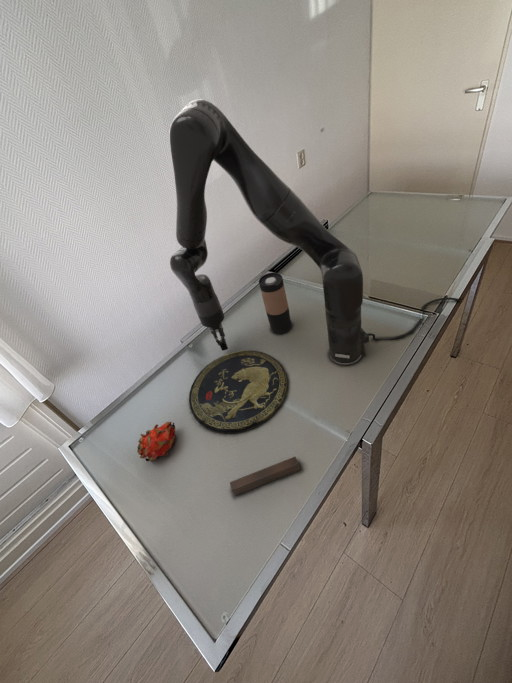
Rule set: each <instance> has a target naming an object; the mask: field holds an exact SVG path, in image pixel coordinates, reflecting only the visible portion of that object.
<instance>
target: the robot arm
mask: <svg viewBox="0 0 512 683" xmlns="http://www.w3.org/2000/svg"><path fill="white" fill-rule="evenodd" d="M168 138H169V140H168V141H169V149H170V157H171V162H172V168H173V174H174V175H173V177H174V184H175V186H174V187H175V195H176V218H175V220H176V221H175V238H176V241H177V243H178V245H180V246H181V248H179V249H178V250H177V251H176V252H175V253H173V254H172V255H171V256H170V258H169V266H170V270H171V271H172V273H173V274H174V275H175V277H176V278H177V279H178V280H179V281H180V282H181V284H182V285H183V286H184V288H185V289H186V290H187V292H188V294H189V296H190V299H191V301H192V306H193V307H194V310H195V313H196V314H197V316H198V319H199V321H200V324H201V325H202V326H203V327H205V328H209V331H210V334H211V335H213V338H214V340H215V342H216V343H217V345H218V346H219V347H220V350H221V351H223V352H224V351H227V350H228V349H229V347H228V344H227V340H226V338H225V337H226V335H225V332H224V326H223V324H222V323H223V321H224V320H225V313H224V311H223V308H222V305H221V303H220V300H219V298H218V295H217V294H216V292H215V289H214V287H213V284H212V281H211V279H210V277H209V276H208V275H206V274H203V273H201V274H200V273H199V274H196V272H197V271H199V270H200V269H201V268H202V267H203V266H204V265H205V264H206V262H207V259H208V256H209V252H208V247H207V246H208V245H207V241H206V232H207V231H206V230H207V223H208V210H207V204H206V198H205V197H206V195H205V194H206V184H207V179H208V175H209V172H210V169H211V166H212V163H213V162H214V163H216V164H217V165H218V166H219V167H220V168H221V169H222V170H224V171H225V172H226V173H227V175H228V176H229V177H230V178H231V180H233V182H234V184H235V186H236V187H237V188H238V191H239V192H240V195H241V196H242V198H243V200H244V202H245V204H246V206H247V208H248V210H249V211H250V213H251V214H252V215H253V216H254V218H255V219H256V220H257V221H258V222H259V223H260V224H261V225H262V226H263V227H264V228H265V229H266V230H267V231H269V232H270V233H271V234H272V235H274V237H275V238H277V239H279V240H281V241H282V242H284V243H287V244H289V245H292V246H294V247H296V248H298V249H300V250H302V251H303V252H304V253H305V254H306V255H308V257H309V258H310V259H311V260H312V261H313V262H314V263H315V264H316V266H317V267H318V268H319V270H320V274H321V279H322V289H323V290H322V291H323V300H324V311H325V321H326V330H327V339H328V342H327V343H328V350H329V354H328V355H329V358H330V360H331V361H332V362H334V363H335V364H337V365H340V366H350V365H353V364H356V363H358V362H359V361H360V360H361V358H362V357H363V356H365V344H368V343H370V337H372V340H373V341H378V342H379V341H393V340H398V339H401V338H404V337H406V336H408V335H410V334H411V333H413V332H414V331H416V329H417V328H418V327H419V326H420V324H421V323H422V321H423V319H420V318H419V320H418V321H417V322H416V324H415V325H414V326H413V327H412V328H411V329H410V330H409V331H407V332H405V333H402V334H400V335H396V336H393V337H387V338H377V337H376V334H374V333H372V332H371V333H370V332H369V333H367V332H366V331H365V330H364V328H362V305H363V302H364V300H363V299H364V275H363V271H362V267H361V264H360V261H359V259H358V256H357V255H356V253H355V252H354V251H353V250H352V249H351V248H350V247H349V246H347V244H345V243H343V241H341V240H340V239H338V237H336V236H335V235H334V234H332V233H331V232H330V231H329V230H328V229H327V228H326V227H325V225H323V223H321V221H320V220H319V218H318V217H317V216H316V215H315V214H314V213H313V212H312V210H311V209H310V208H309V207H308V206H307V205H306V203H305V202H304V201H303V200H302V199H301V198H300V197H299V196H298V195H297V194H296V193H295V192H294V191H293V189H291V188H290V187H289V186H288V185H287V184H286V183H285V182H284V181H283V180H282V179H281V178H280V177H279V176H278V175H277V174H276V173H275V171H273V169H272V168H270V166H269V165H268V164H266V162H264V160H263V159H262V158H261V157H260V156H259V155H258V154H257V153H256V152H255V151H254V150H253V149H252V148H251V147H250V146H249V144H248V143H247V142H246V141H245V139H244V138H243V137H242V136H241V134H240V133H239V132H238V130H237V129H236V128H235V126H233V124H232V123H231V121H230V120H229V119H228V118H227V117H226V115H225V114H224V112H222V110H220V108H219V107H217V106H216V105H215V104H213V102H211V101H209V100H206V99H201V98H198V99H193V100H191V101H190V102H189V103H187V104H186V105H185V106H184V107H182V109H181V110H180V111H179V112H178V113H177V114H176V115H175V117H174V118H173V120H172V122H171V123H170V126H169V132H168ZM449 300H450V301H456V302H461V300H460V299H459V298H456V297H440V298H436V299H433V300H430V301H428V302H425V303H424V304H423V305H422V306H421V309H420V311H421V310H423V312H424V310H425V308H426V307H427V306H428V305H430V304H433V303H436V302H439V301H449Z"/></svg>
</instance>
